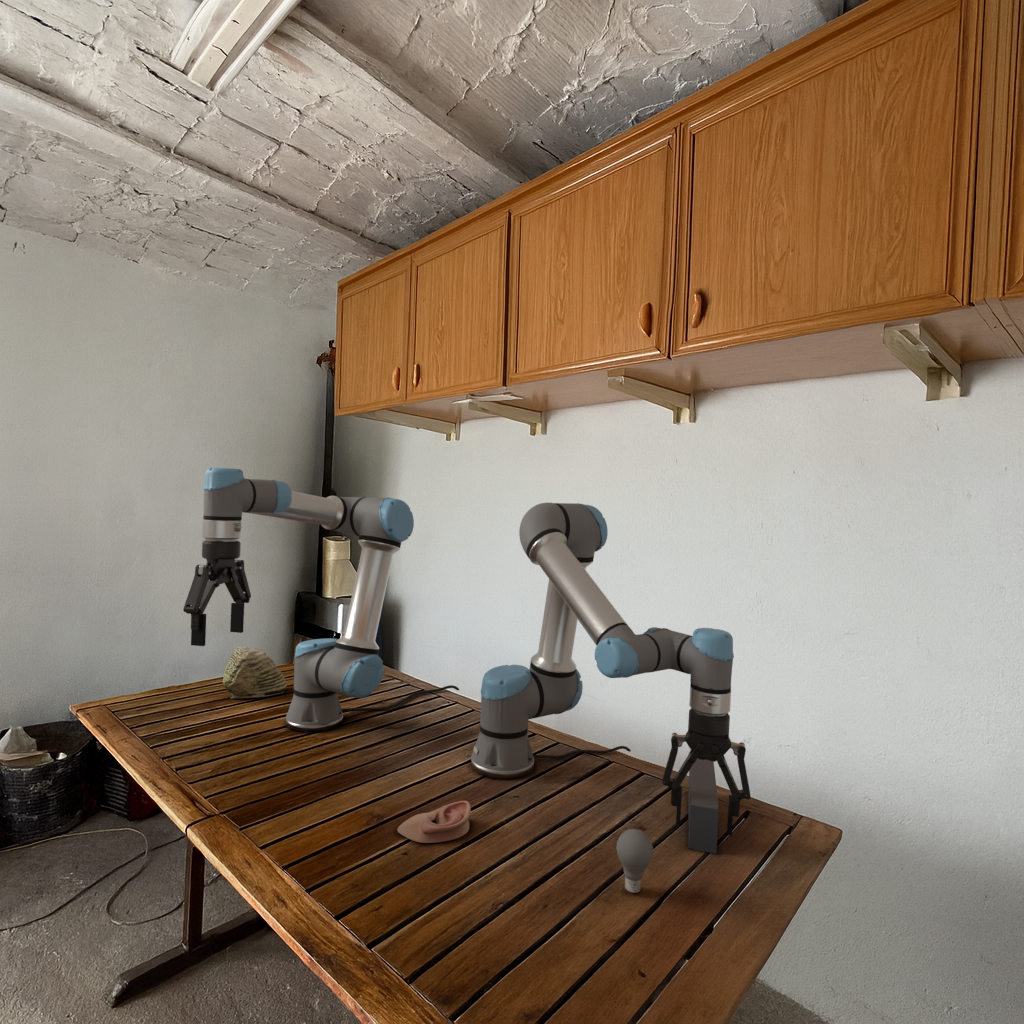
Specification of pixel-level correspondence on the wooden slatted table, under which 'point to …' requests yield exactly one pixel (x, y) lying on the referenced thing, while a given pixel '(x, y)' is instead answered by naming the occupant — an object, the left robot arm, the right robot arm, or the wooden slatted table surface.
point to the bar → (703, 807)
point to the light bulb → (634, 857)
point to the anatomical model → (438, 824)
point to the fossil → (252, 674)
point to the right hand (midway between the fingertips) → (703, 826)
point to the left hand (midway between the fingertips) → (218, 638)
